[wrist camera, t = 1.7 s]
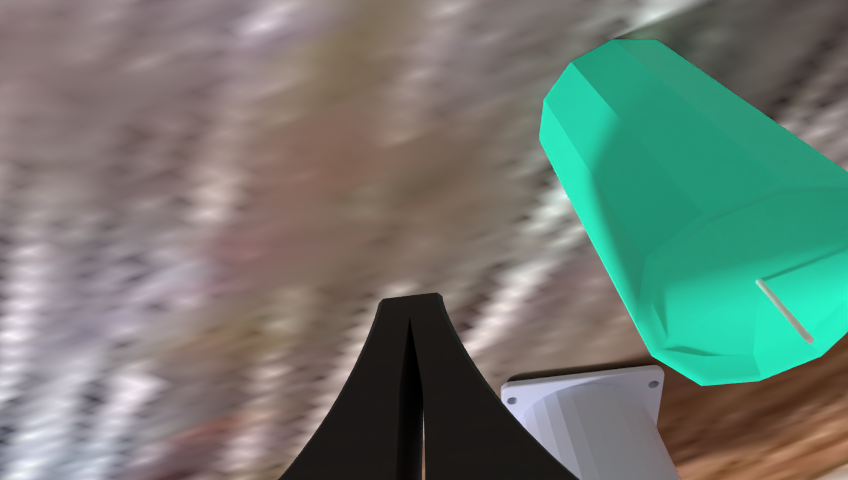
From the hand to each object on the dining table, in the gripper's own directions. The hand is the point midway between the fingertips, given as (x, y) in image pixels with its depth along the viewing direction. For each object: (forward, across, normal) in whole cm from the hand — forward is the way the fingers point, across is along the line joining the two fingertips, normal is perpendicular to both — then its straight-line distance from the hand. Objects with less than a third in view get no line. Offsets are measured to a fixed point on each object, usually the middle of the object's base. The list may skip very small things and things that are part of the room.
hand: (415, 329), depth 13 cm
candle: (+11, -8, 0) cm, 13 cm away
